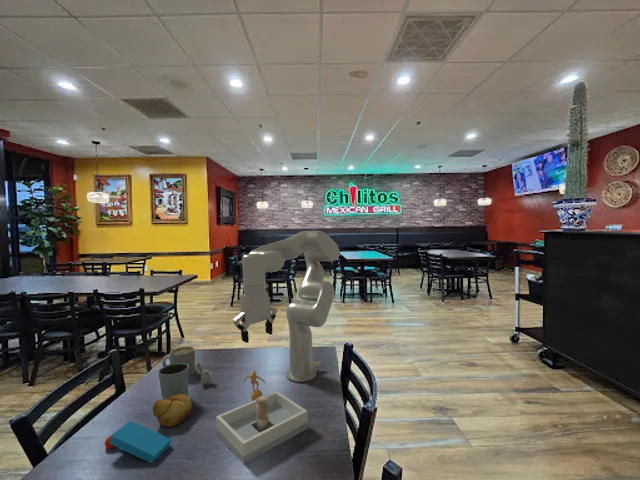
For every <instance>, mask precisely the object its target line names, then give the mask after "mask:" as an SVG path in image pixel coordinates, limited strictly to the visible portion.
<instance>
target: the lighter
mask: <svg viewBox="0 0 640 480" xmlns="http://www.w3.org/2000/svg"><path fill="white" fill-rule="evenodd" d="M194 366H195V372H196V373H197V375H200V383H201V385H209V386H210V385H211V384H213V372H212V371H211V372H210V370H209V369H204V370H203V368H202V366H201V364H200V362H197V363H195V365H194Z"/></svg>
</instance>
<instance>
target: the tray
mask: <svg viewBox="0 0 640 480" xmlns="http://www.w3.org/2000/svg"><path fill="white" fill-rule="evenodd" d="M264 396H265V397H267V398H268V421H269V428H268V429H266V430H264V431H262V432H260V433H259V432H258V431H257V419H256V400H254V401H253V400H252V401H250V402H247V403H245V404H243V405H239V406H238V407H236V408H235V407H234V408H233V409H231V410H228V411H227V412H223V413H221V414H218V415H217V416H215V421H216V422H215V424H216V425H215V426H216V429H215V430H216V435H217V436H218V437H219V439H220V440H221V441H222V442H223V443H224V444H225V445H226V447H229V448H230V449H231V450H230V449H229V448H228V449H229V450H230V451H231V452H232V453H233V454H234V456H236V458H237V459H238V458H239V459H240V460H241V461H242V462H243V463H245V464H247V463H249V462H250V460H251V461H253V460H254V459H256V458H257V456H258V455H260V454H261V455H263V454H265V453H267V452H268V451H270V450H272V449H273V447H274V448H275V446H276V447H278V446H279V445H281V444H283V443H285V442H287V441H289V440H290V439H292V438H293V437H295V436H297V435H298V434H300V433H302V432H304V431H306V430H308V429H309V426H308V425H309V423H308V422H309V420H308V411H307V409H306V408H303V407H302V406H301V405H299V404H298V403H296V402H294V401H292V400H291V399H289V398H288V397H287V396H285V395H283V394H282V393H280V392H279V391H276V390H275V391H274V392H272V393H271V392H270V393H269V394H265V395H264ZM271 448H272V449H271ZM266 451H267V452H266ZM264 452H265V453H264ZM262 453H263V454H262ZM261 455H260V456H261ZM255 457H256V458H255ZM258 457H259V456H258ZM239 459H238V460H239ZM240 460H239V461H240ZM241 461H240V462H241ZM248 461H249V462H248ZM242 462H241V463H242ZM246 462H247V463H246ZM243 463H242V464H243Z"/></svg>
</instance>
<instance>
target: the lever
mask: <svg viewBox="0 0 640 480" xmlns="http://www.w3.org/2000/svg"><path fill="white" fill-rule="evenodd" d="M171 442H172V438H170V437H168V436H165V435H163V434H162V433H159V432H156V431H155V430H152V429H149V428H147V427H145V426H144V425H141V424H138V423H136V422H135V421H133V420H129V421H128V422H127V423H126V424H124V425H123V426H121V427H120V428H119V429H117V430H116V431H115V432H113V433H112V434H111V435H109V436H108V437H107V438H106V439H105V441H104V446H105V448H106V449H108V450H112V449H114V448H117V449H120V450H122V451H124V452H127V453H129V454H131V455H133V456H135V457H137V458H138V459H141V460H142V461H145V460H146V461H145V462H147V461H152V462H153V463H154V462H155V461H157V459H159V458H160V456H162V454H164V453H165V452H166V450H168V448H170V447H171ZM154 460H155V461H154Z"/></svg>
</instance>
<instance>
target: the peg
mask: <svg viewBox="0 0 640 480" xmlns="http://www.w3.org/2000/svg"><path fill="white" fill-rule="evenodd" d="M265 396H266V395H262V397H258V398H257V399H256V419H257V428H256V430H257V431H258V432H259V433H260V432H262V431H264V430H266V429H268V428H270V427H269V421H268V398H267V397H265Z"/></svg>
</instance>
